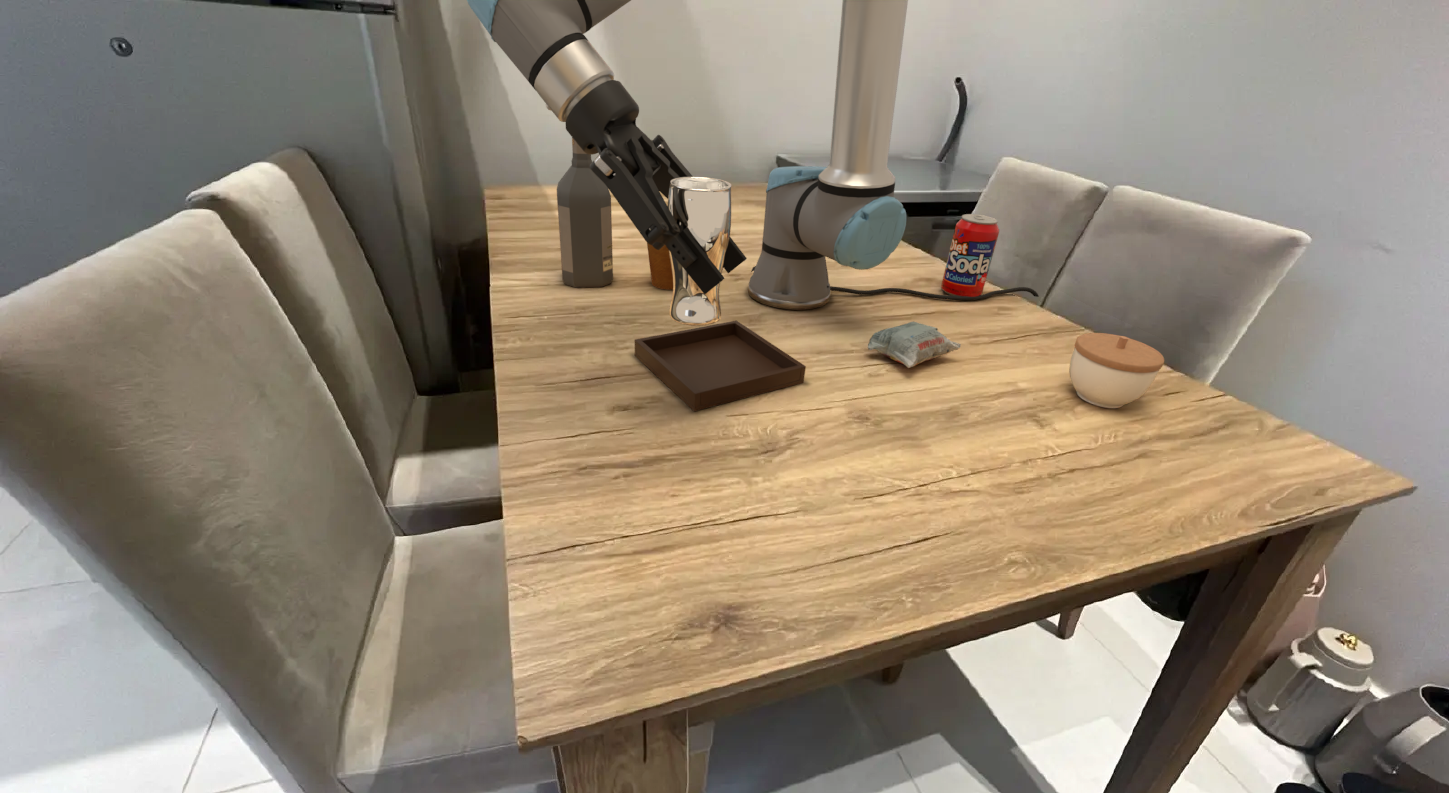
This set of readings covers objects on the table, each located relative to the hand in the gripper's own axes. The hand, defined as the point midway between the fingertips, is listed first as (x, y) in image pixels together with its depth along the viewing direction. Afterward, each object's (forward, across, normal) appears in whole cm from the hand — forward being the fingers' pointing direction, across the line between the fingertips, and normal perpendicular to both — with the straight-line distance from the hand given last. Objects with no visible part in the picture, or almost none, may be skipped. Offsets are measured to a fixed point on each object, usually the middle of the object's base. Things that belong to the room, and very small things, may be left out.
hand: (726, 275), depth 70 cm
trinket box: (+47, -28, +21) cm, 58 cm away
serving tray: (+10, -12, -16) cm, 22 cm away
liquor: (-15, -36, -41) cm, 56 cm away
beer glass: (+2, 0, -6) cm, 7 cm away
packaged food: (+28, -28, +2) cm, 40 cm away
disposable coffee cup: (-4, -41, -31) cm, 51 cm away
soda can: (+33, -64, +6) cm, 72 cm away
